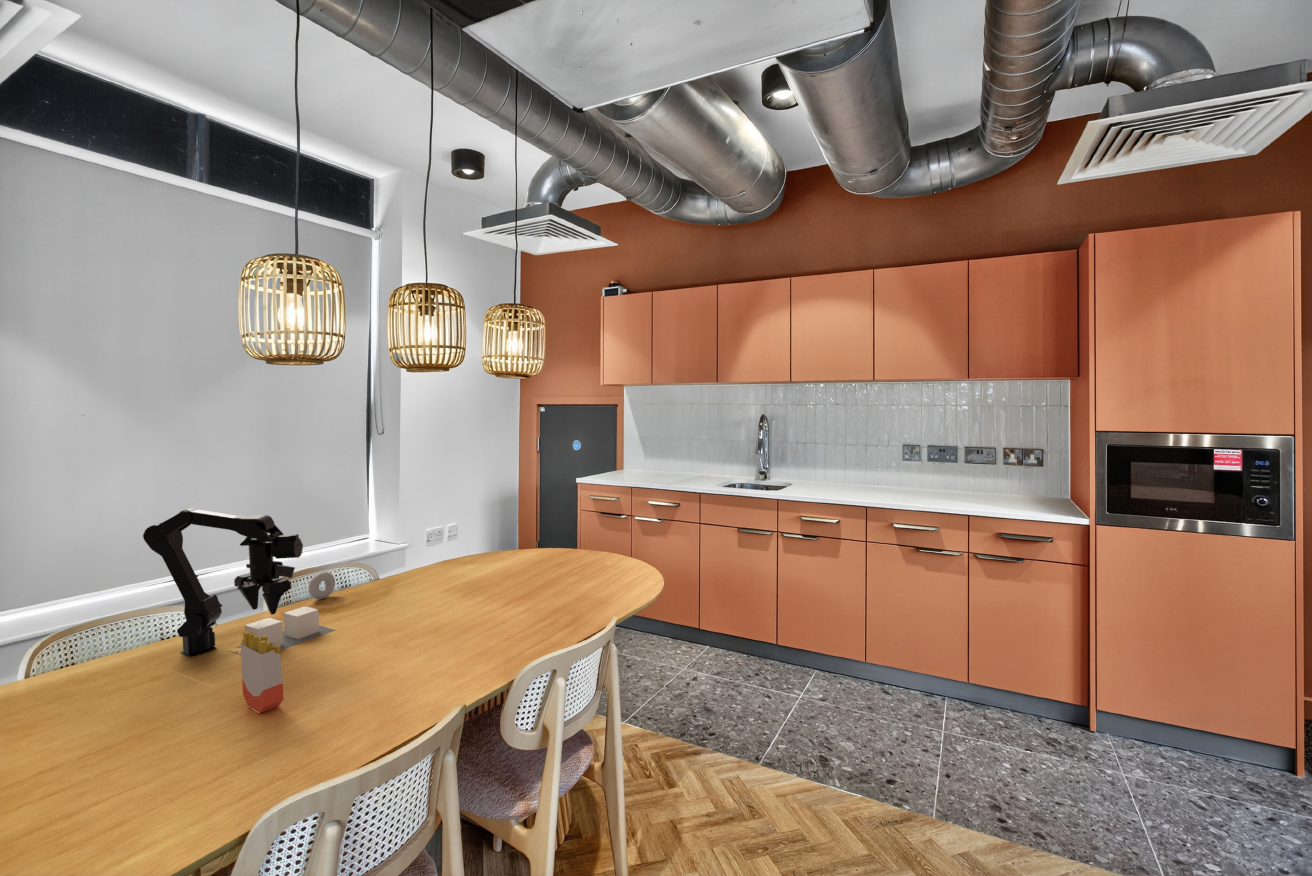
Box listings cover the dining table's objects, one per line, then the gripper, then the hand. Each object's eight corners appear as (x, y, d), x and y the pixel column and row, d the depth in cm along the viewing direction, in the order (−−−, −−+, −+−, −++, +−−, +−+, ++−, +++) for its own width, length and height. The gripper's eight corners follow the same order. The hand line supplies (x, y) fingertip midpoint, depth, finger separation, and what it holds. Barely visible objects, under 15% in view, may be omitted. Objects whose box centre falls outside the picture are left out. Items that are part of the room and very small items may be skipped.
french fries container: (264, 695, 144) (260, 624, 143) (285, 708, 138) (282, 634, 137) (243, 703, 141) (239, 630, 139) (264, 717, 135) (260, 640, 133)
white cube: (259, 652, 168) (258, 629, 168) (246, 648, 171) (244, 625, 171) (283, 644, 174) (282, 621, 174) (270, 640, 177) (269, 617, 177)
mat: (255, 660, 164) (254, 659, 164) (227, 651, 170) (227, 650, 170) (336, 630, 185) (336, 629, 185) (308, 623, 192) (308, 622, 192)
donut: (313, 603, 210) (312, 576, 210) (306, 602, 211) (305, 575, 211) (337, 595, 219) (337, 568, 219) (331, 594, 221) (330, 567, 220)
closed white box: (297, 639, 178) (296, 616, 178) (284, 635, 181) (283, 612, 181) (319, 631, 184) (318, 609, 184) (306, 627, 187) (305, 606, 187)
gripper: (308, 556, 174) (310, 607, 175) (271, 549, 183) (273, 598, 184) (268, 565, 164) (271, 620, 165) (231, 558, 173) (234, 609, 174)
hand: (264, 611), depth 172 cm, fingers open, 9 cm apart
